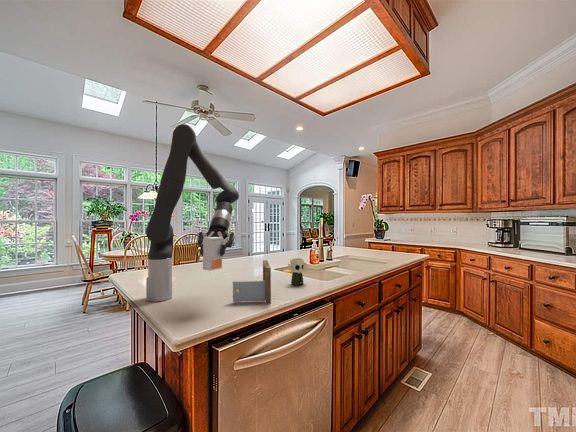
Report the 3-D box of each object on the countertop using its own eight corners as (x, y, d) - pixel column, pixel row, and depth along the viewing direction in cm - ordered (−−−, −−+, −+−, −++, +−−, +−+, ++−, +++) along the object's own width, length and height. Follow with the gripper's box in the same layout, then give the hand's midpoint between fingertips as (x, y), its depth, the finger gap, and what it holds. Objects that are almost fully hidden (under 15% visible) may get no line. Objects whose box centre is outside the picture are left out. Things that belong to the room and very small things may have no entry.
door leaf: (266, 302, 103) (266, 282, 103) (232, 303, 102) (232, 282, 102) (266, 300, 106) (266, 280, 106) (233, 301, 105) (233, 281, 105)
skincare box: (210, 271, 94) (210, 238, 94) (202, 269, 96) (202, 237, 96) (222, 268, 99) (223, 237, 99) (214, 267, 101) (215, 236, 102)
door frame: (265, 303, 103) (265, 268, 103) (263, 290, 121) (262, 260, 121) (270, 303, 103) (270, 267, 103) (267, 290, 122) (267, 260, 122)
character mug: (291, 287, 126) (291, 260, 126) (284, 284, 133) (284, 258, 133) (310, 284, 132) (309, 259, 132) (302, 281, 138) (302, 257, 138)
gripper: (201, 216, 105) (189, 248, 94) (236, 216, 105) (229, 249, 93) (205, 228, 111) (194, 260, 99) (238, 228, 111) (232, 261, 99)
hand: (211, 254), depth 96 cm, fingers closed on skincare box, 6 cm apart
